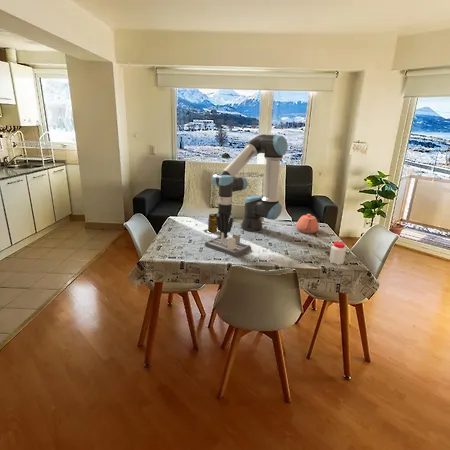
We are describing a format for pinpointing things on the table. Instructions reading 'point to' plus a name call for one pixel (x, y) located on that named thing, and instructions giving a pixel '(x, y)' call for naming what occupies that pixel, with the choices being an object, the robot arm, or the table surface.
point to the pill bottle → (337, 252)
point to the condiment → (212, 223)
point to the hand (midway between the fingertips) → (223, 242)
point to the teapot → (307, 224)
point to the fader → (231, 243)
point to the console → (217, 245)
